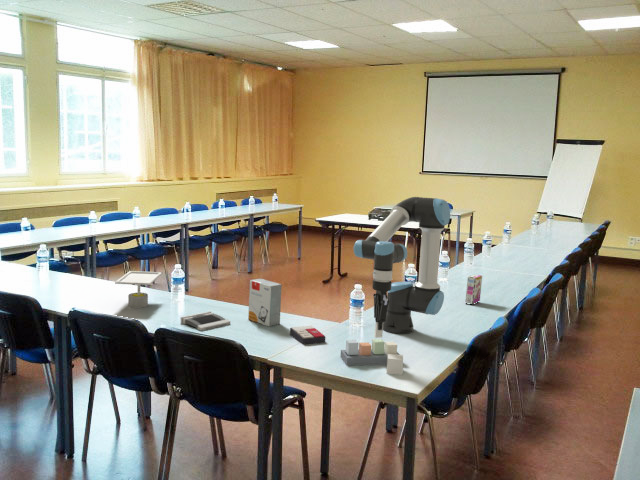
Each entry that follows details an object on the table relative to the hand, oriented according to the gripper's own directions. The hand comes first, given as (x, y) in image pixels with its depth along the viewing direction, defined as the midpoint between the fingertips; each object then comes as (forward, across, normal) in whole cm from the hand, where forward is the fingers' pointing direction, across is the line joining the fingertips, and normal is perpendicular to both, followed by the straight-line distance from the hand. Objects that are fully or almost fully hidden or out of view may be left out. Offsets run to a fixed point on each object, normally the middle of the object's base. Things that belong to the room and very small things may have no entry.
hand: (378, 336), depth 245 cm
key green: (+7, 0, 0) cm, 7 cm away
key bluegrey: (+7, 0, -11) cm, 13 cm away
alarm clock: (+11, -56, -67) cm, 88 cm away
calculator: (+11, -31, -23) cm, 40 cm away
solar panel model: (+10, -92, -100) cm, 136 cm away
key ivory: (+8, 0, +6) cm, 10 cm away
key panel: (+10, 0, -3) cm, 10 cm away
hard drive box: (+10, -58, -39) cm, 71 cm away
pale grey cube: (+10, +13, +3) cm, 17 cm away
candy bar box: (+9, -91, +88) cm, 127 cm away
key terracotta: (+8, 0, -5) cm, 10 cm away
